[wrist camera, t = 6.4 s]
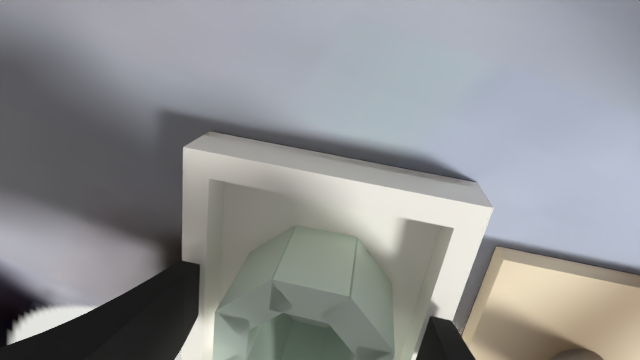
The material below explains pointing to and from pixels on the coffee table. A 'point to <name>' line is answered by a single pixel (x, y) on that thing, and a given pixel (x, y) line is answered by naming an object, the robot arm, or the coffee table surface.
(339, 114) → the coffee table surface
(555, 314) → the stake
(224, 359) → the ring
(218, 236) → the tray
